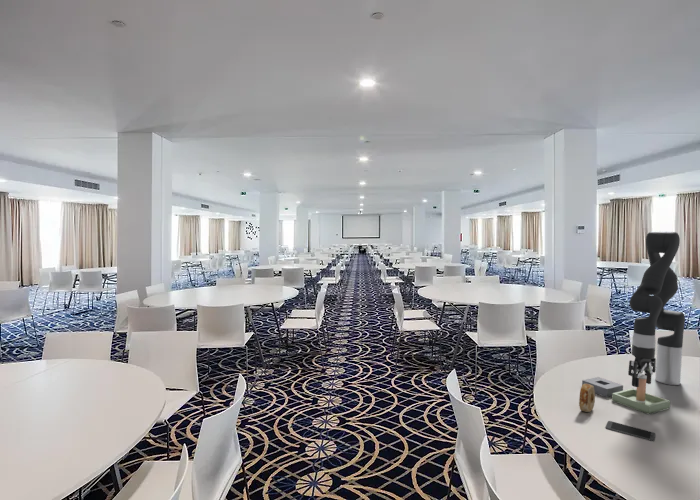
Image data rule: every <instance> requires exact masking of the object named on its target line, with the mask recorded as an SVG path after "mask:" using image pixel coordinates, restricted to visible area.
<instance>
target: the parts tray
mask: <svg viewBox="0 0 700 500" xmlns="http://www.w3.org/2000/svg"><path fill="white" fill-rule="evenodd" d="M636 391H637V388H636V389H635V388H628V389H623V391H620V392H616V393H612V396H611V401H612V402H615V403H617V404H619V405H623V406H625V407H628V408H631V409H633V410H636V411H639V412H641V413H644V414H646V415H652V414H655V413H658V412H661V411H665V410H668V409H670V407H671V400H669V399H666V398H662V397H660V396H658V395H654V394H651V393H649V392H646V395H645V404H644V403H641V402H638V401H636Z"/></svg>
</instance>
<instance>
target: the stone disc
mask: <svg viewBox="0 0 700 500" xmlns="http://www.w3.org/2000/svg"><path fill="white" fill-rule="evenodd" d="M595 394H596V393H595V391H594V386H592V385H590V384H583V385H582V384H581V386H580V390H579V399H578V406H579V410H580V411H582V412H586V413H591V412H592V410H593V409H594V406H595V401H596V395H595Z"/></svg>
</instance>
